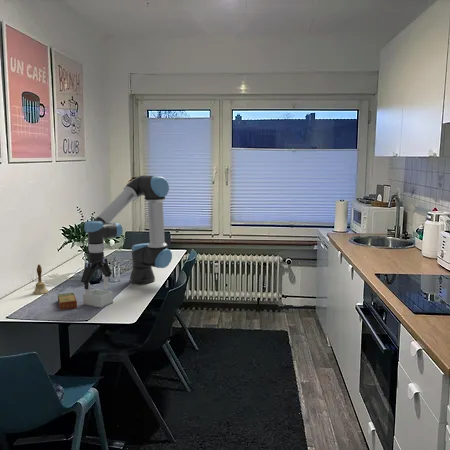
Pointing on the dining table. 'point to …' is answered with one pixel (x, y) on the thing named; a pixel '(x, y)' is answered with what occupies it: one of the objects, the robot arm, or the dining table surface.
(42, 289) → the hand bell
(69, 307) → the carton
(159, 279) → the dining table surface
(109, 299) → the crate
